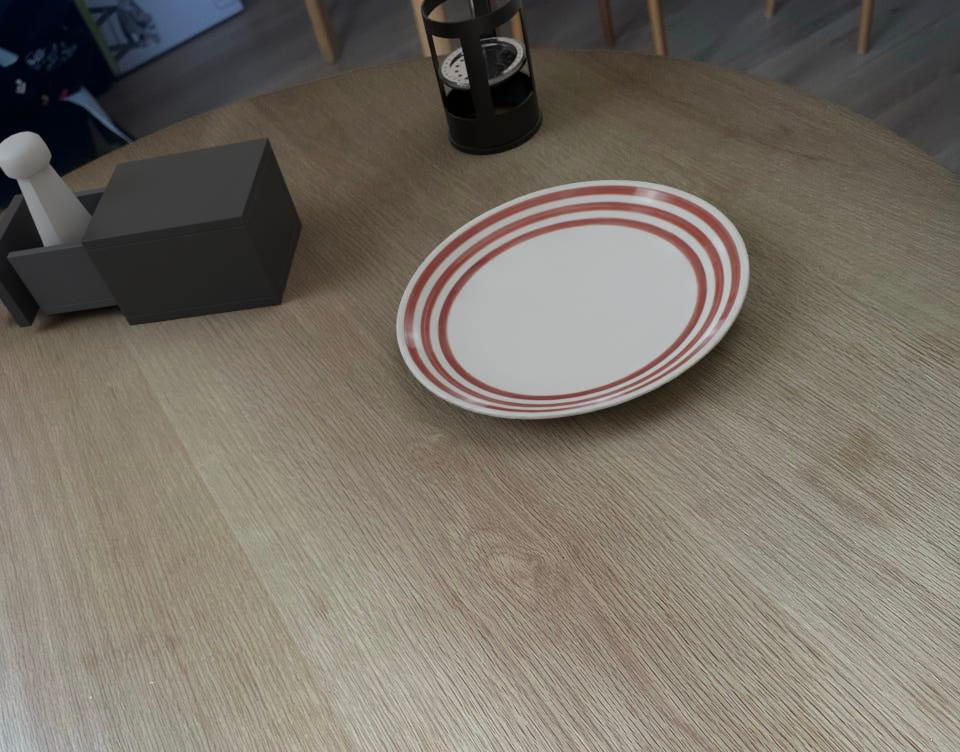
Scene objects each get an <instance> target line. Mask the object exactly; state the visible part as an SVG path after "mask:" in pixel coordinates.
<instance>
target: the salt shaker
mask: <svg viewBox="0 0 960 752" xmlns="http://www.w3.org/2000/svg"><path fill="white" fill-rule="evenodd" d="M51 159H52V153H51V151H50V149H49V147H48V145H47V144H46V142H45V141H44V140H43V138H42V137H41V135H39V134H38V133H36V132H33V131H28V130H27V131H21V132H17V133H15V134H12V135H10V136H9V137H8V136H7V138H5V139H4V140H2V142H1V143H0V169H1V170H2V171H3V172H4V174H5V175H6V176H7V177H8V178H10V179H14V180H16V181H17V183H18V186H19V188H20V190H21V194H23V196H24V198H25V200H26V203H27V205H28V208H29V210H30V213H31V215H32V217H33V220H34V222H35V225H36V227H37V229H38V232H39V234H40V237H41V239H42V242H43V244H44V247H46V246H53V245H59V244H65V243H71V242H78V241H81V240H82V237H83V235H84V233H85V231H86V229H87V227H88V225H89V223H90V220H91V218H92V216H91V215H90V214H89V213H88V211H87V210H86V209H85V208H84V206H83V205H82V204H81V203H80V201H79V200H78V199H77V198H76V196H75V195H74V194H73V191H72V189H70V187H69V186H68V185H67V183H65V181H64V180H63V179H62V177H61V176H60V174H58V173H57V171H56V170H55V169H54V167H53V166H52V165H51V163H50V162H51Z"/></svg>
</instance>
